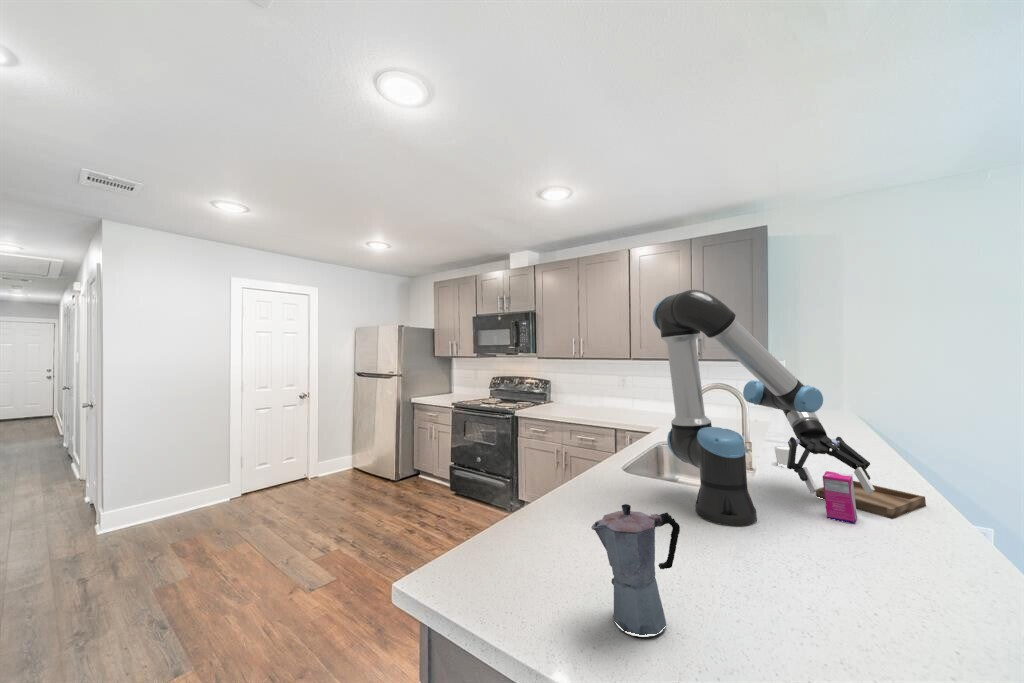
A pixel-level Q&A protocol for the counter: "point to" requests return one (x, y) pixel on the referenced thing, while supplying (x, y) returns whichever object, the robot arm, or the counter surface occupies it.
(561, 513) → the counter surface
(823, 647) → the counter surface
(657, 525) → the moka pot
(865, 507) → the walnut tray
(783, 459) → the shot glass
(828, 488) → the supplement box
